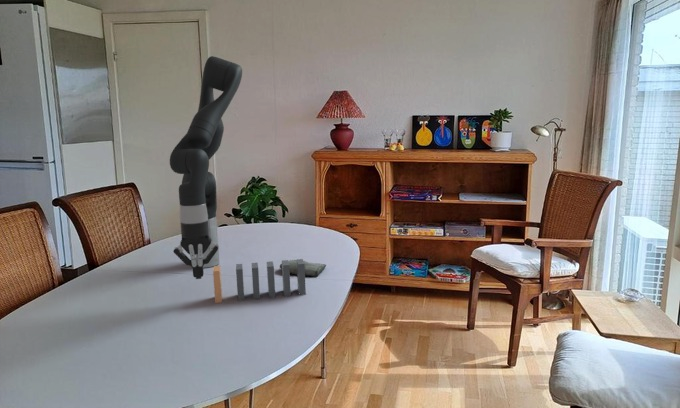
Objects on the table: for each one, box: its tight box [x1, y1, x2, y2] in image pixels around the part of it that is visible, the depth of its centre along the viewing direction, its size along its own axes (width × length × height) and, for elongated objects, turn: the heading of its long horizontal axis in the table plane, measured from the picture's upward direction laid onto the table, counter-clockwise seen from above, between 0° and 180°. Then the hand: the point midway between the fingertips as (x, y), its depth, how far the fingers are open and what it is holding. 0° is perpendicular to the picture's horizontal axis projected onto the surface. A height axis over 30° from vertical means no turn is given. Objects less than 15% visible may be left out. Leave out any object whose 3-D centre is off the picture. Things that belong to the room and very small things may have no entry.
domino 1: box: [212, 265, 223, 304], centre depth 147 cm, size 2×5×10 cm, turn 11°
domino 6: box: [296, 258, 307, 296], centre depth 151 cm, size 2×5×10 cm, turn 11°
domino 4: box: [266, 261, 276, 299], centre depth 149 cm, size 2×5×10 cm, turn 11°
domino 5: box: [281, 259, 292, 297], centre depth 150 cm, size 2×5×10 cm, turn 11°
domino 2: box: [235, 263, 245, 301], centre depth 148 cm, size 2×5×10 cm, turn 11°
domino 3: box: [251, 262, 261, 300], centre depth 149 cm, size 2×5×10 cm, turn 11°
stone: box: [279, 259, 327, 278], centre depth 171 cm, size 11×4×15 cm
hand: (198, 278), depth 145 cm, fingers closed
